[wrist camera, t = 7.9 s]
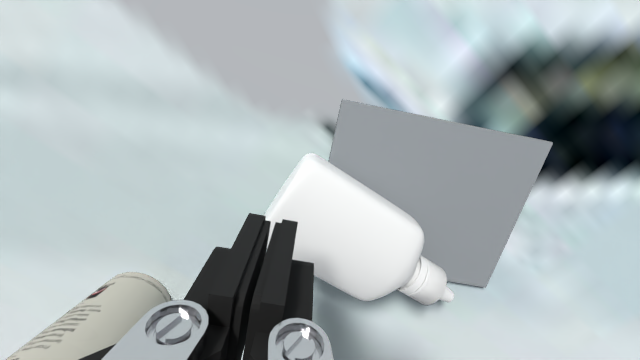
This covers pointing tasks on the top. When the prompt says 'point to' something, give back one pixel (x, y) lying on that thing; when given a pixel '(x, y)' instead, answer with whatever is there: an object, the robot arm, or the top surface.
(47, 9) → the top surface
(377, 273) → the eye dropper bottle
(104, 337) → the coffee cup
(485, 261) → the mat
